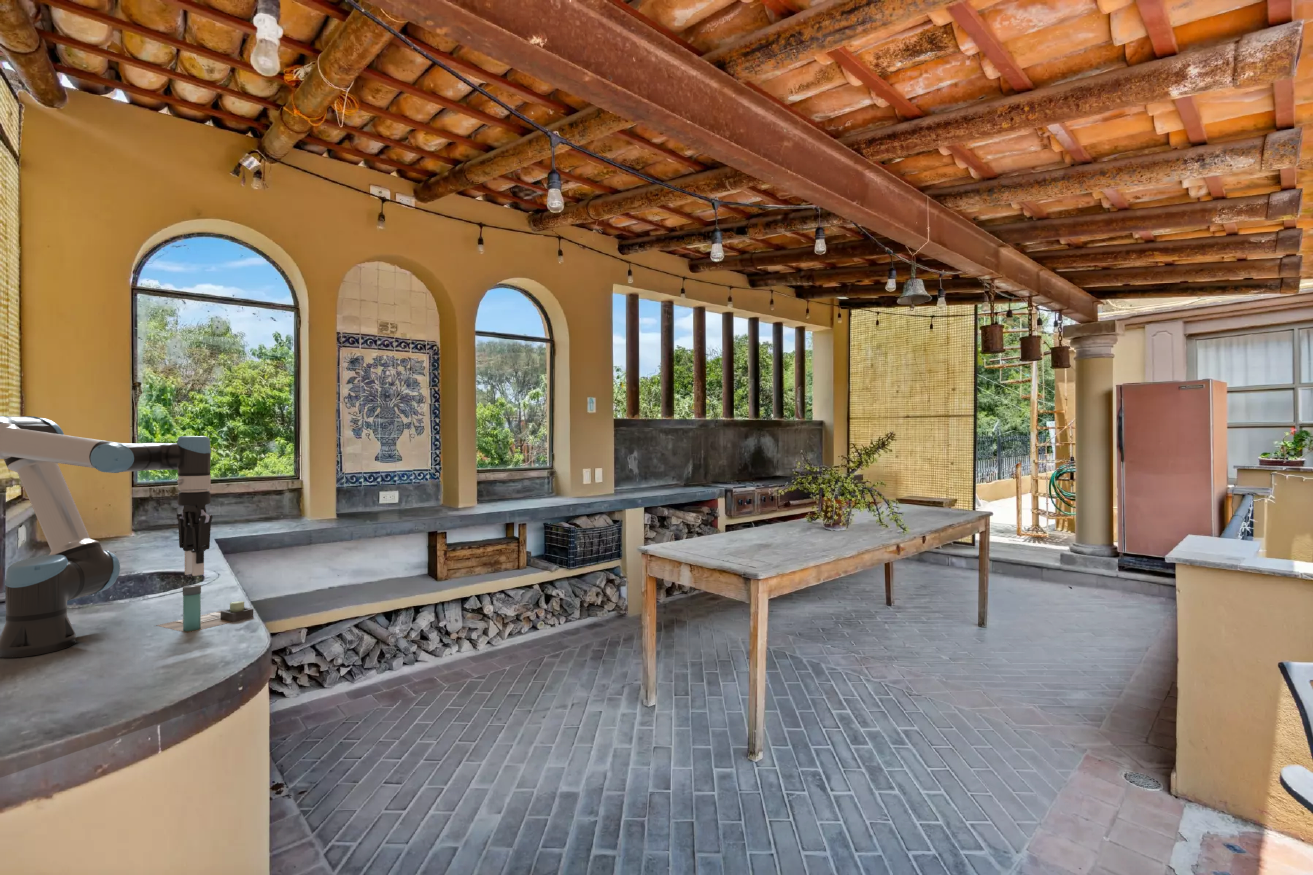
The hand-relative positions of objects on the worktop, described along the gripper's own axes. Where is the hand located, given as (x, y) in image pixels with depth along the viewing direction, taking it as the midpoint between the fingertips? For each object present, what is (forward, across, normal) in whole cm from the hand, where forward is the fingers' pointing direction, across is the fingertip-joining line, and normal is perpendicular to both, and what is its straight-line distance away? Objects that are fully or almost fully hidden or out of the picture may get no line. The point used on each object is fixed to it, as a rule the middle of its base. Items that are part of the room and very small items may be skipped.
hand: (194, 574), depth 183 cm
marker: (+15, 0, -1) cm, 15 cm away
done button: (+14, -1, +12) cm, 18 cm away
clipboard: (+17, -6, +6) cm, 18 cm away
